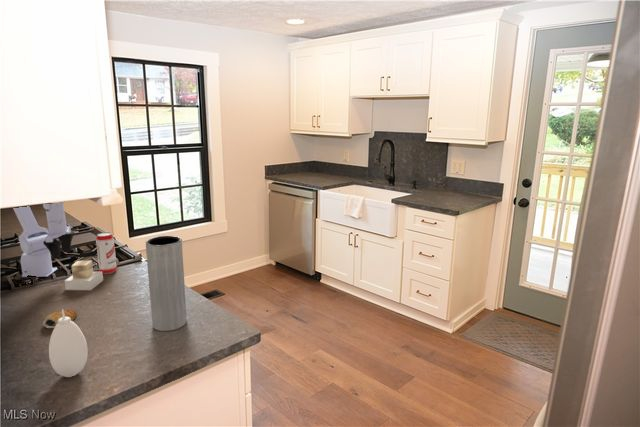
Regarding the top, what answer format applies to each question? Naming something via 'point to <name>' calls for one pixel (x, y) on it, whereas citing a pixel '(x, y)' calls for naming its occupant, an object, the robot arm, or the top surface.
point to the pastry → (53, 318)
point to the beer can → (106, 253)
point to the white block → (84, 282)
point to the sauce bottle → (67, 348)
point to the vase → (166, 282)
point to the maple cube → (82, 269)
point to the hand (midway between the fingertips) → (61, 255)
